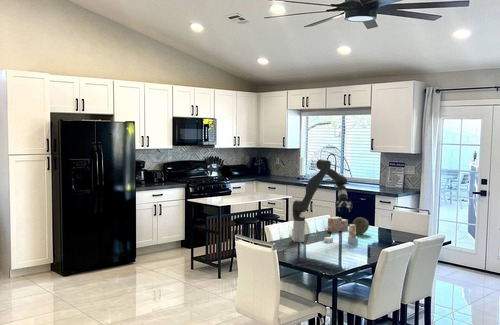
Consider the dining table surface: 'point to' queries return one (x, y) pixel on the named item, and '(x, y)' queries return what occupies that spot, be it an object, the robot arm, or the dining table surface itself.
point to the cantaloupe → (361, 225)
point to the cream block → (328, 239)
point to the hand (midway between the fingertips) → (344, 211)
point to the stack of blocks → (337, 224)
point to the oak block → (352, 230)
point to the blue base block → (352, 240)
